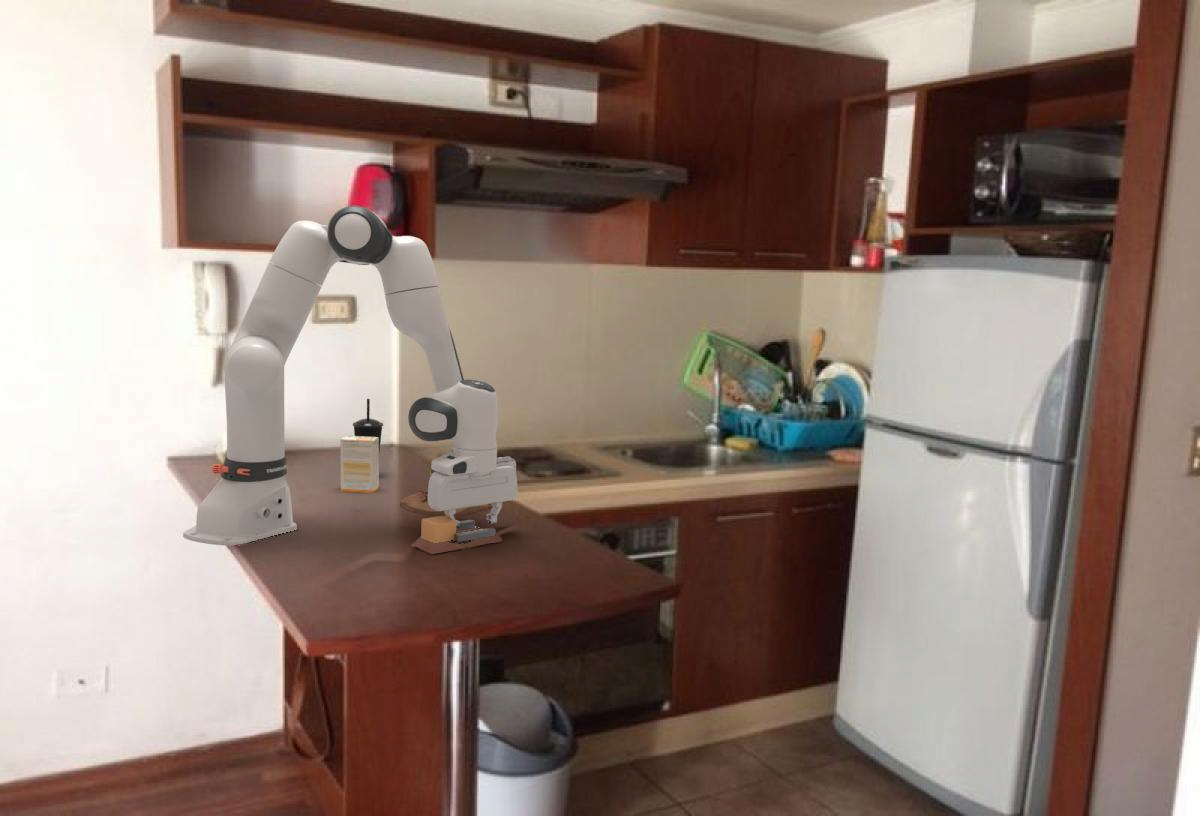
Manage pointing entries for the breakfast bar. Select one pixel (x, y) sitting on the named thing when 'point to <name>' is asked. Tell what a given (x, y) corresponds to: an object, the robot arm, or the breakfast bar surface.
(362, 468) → the supplement box
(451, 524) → the orange block
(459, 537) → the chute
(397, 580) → the breakfast bar surface
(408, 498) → the plant
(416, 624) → the breakfast bar surface
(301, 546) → the breakfast bar surface
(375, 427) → the drinking cup
